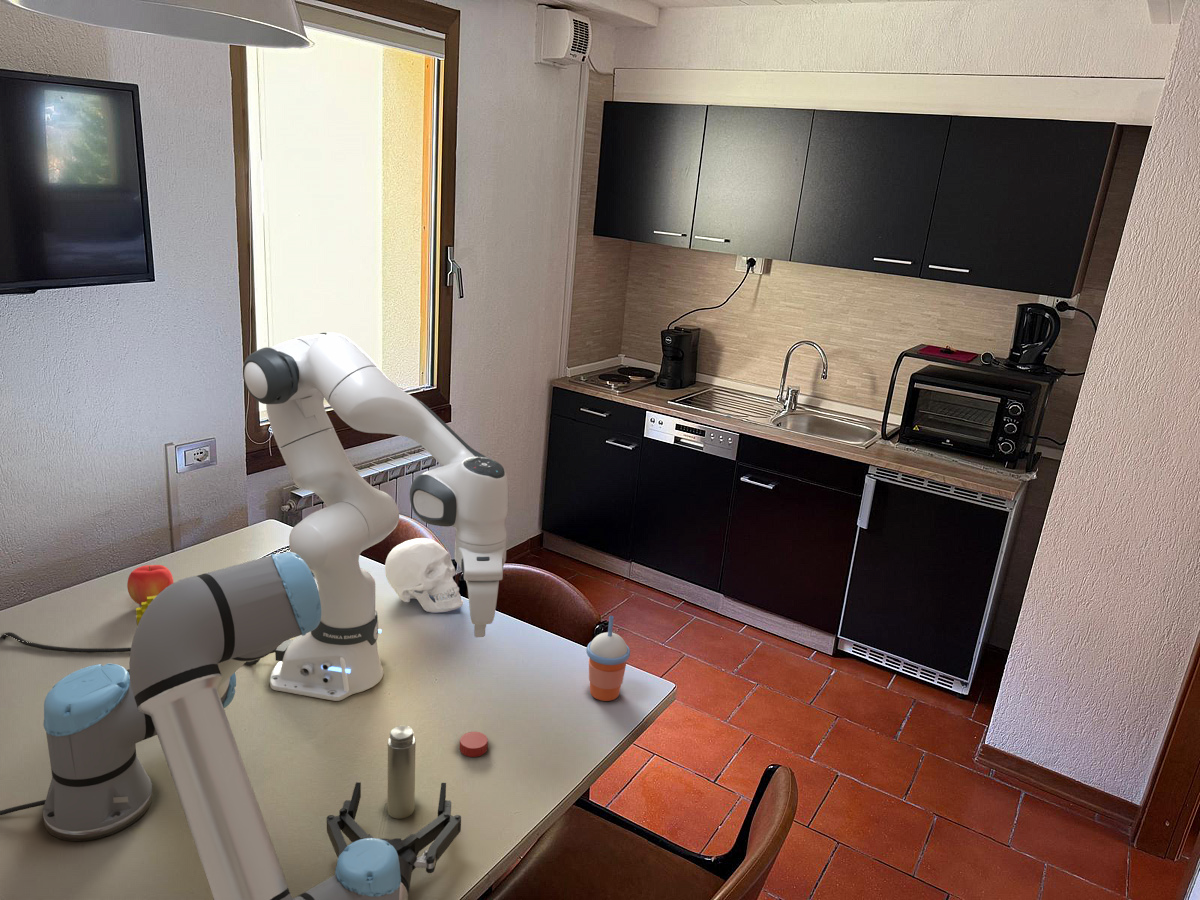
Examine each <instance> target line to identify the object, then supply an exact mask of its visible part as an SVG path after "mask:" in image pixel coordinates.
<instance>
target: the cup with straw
mask: <svg viewBox="0 0 1200 900" xmlns="http://www.w3.org/2000/svg"><path fill="white" fill-rule="evenodd" d="M614 619H615V618H614V616H613V615H609V617H608V627H607V631H606V632H602V633H599V634H597V635H596V636H595V637H594V638H593V639H592V640H591V641H590V642H589V643H588V644H587V646H586V654H587V656H588V680H589V692H590V695H591V696H592V697H593V698H594V699H596V700H597V701H602V702H610V701H614V700H615V699H617V698H618V697H619V695H620V691H621V687H622V684H623V681H624V677H625V671H626V666H627V661H628V660H629V659H630V657H631V649H630V647H629V646H628V644H627V643H626V641H625V640H624V638H623V637H622V636H620V635H619V634H618V633H615V632H613V628H614Z"/></svg>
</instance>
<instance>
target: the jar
mask: <svg viewBox="0 0 1200 900" xmlns="http://www.w3.org/2000/svg"><path fill="white" fill-rule="evenodd" d="M414 734H415V733H414V730H413V728H412V727H411V726H409V725H405V724H403V725H397V726H394V727H393V728H392V729H391V730H390V732H389V738H388V739H387V797H386V798H387V800H386V801H387V807H386V808H387V809H386V810H387V815H388V816H390V817H391V818H394V819H397V820H400V819H406V818H409V817H410V816H412V814H413V813H414V811H415V803H416V802H415V799H416V797H415V793H416V742H417V741H416V740H417V739H416V737H415V736H414Z"/></svg>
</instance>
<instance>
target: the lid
mask: <svg viewBox="0 0 1200 900" xmlns="http://www.w3.org/2000/svg"><path fill="white" fill-rule="evenodd" d="M488 748H489V741H488V737H487V735H486V734H485V733H483V732H480V731H469V732H466V733H463V735H461V736H460V739H459V751H460V753H461V754H462V755H464V756H466V757H470V758H475V757H476V758H477V757H481V756H483V755H485V753H486V752H487V750H488Z"/></svg>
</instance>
